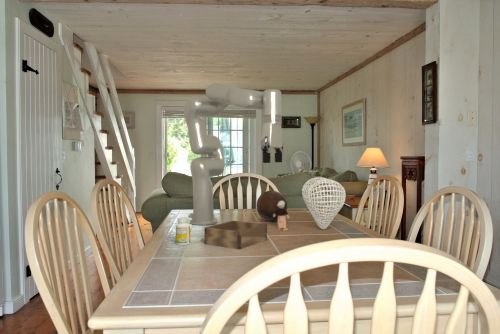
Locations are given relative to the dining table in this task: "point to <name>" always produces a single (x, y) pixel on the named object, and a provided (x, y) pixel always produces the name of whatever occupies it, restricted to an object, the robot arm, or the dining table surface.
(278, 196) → the wooden sphere
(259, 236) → the walnut box
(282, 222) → the grandmother figurine
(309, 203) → the heart
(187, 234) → the supplement bottle
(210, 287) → the dining table surface
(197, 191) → the robot arm
